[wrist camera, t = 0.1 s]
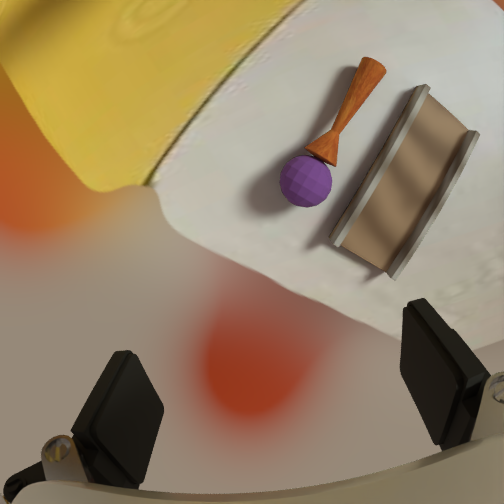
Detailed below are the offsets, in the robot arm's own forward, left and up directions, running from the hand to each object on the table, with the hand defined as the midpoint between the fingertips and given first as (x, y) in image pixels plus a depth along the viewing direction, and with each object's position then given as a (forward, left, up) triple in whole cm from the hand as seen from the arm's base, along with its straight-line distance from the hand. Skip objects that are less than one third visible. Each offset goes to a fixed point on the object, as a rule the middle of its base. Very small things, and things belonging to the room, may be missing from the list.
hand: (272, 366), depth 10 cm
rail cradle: (-11, +15, -31) cm, 36 cm away
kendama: (-11, +3, -31) cm, 33 cm away
